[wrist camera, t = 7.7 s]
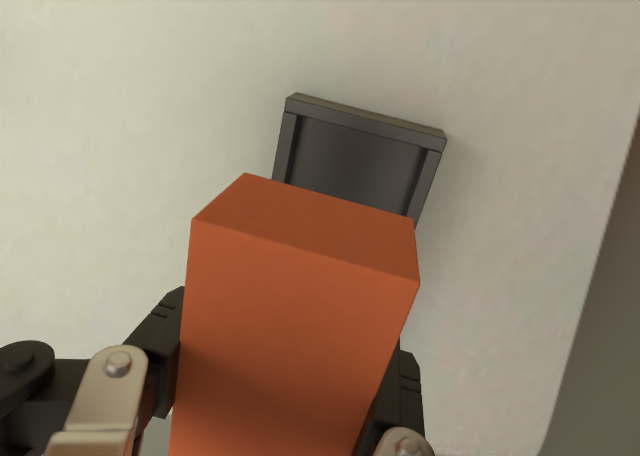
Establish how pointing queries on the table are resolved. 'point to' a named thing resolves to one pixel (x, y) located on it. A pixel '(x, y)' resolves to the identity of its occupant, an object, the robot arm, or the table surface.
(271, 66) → the table surface
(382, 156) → the frame
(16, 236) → the table surface
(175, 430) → the orange block
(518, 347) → the table surface
